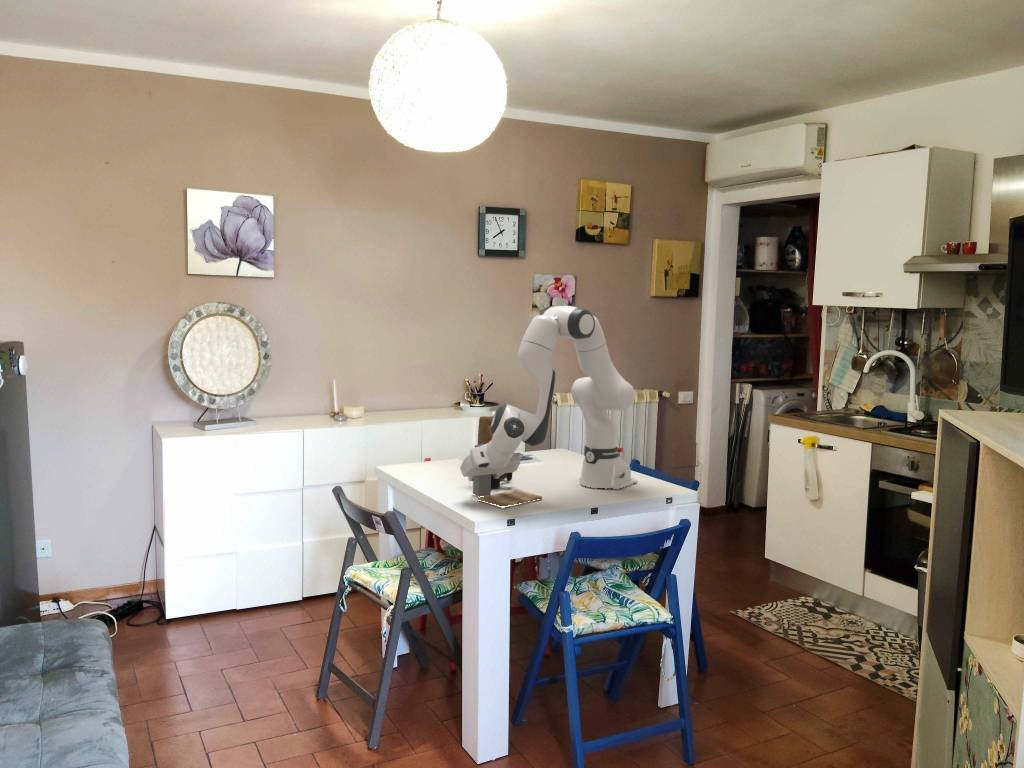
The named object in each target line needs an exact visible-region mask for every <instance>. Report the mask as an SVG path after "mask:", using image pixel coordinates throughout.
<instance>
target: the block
mask: <svg viewBox="0 0 1024 768" xmlns="http://www.w3.org/2000/svg"><path fill="white" fill-rule="evenodd" d="M493 416H494V415H490V416H483V415H482V416H479V419H478V425H477V426H478V430H477V445H479V444H487V443H489V442H490V441H491V440H492V437H493V434H492V432H491V428H490V424H491V420H492V418H493Z"/></svg>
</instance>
